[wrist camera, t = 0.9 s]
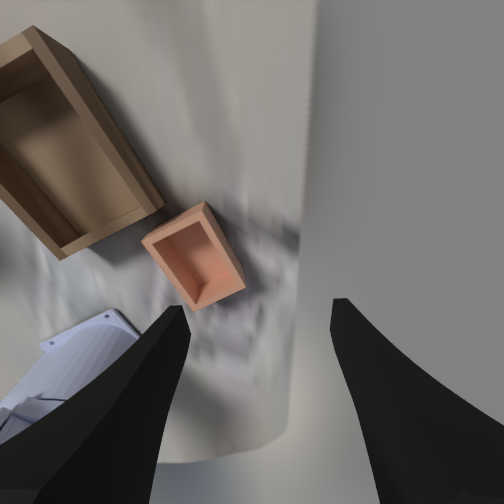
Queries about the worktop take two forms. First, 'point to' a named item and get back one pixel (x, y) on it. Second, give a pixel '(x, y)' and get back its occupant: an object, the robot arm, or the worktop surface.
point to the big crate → (64, 150)
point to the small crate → (196, 257)
